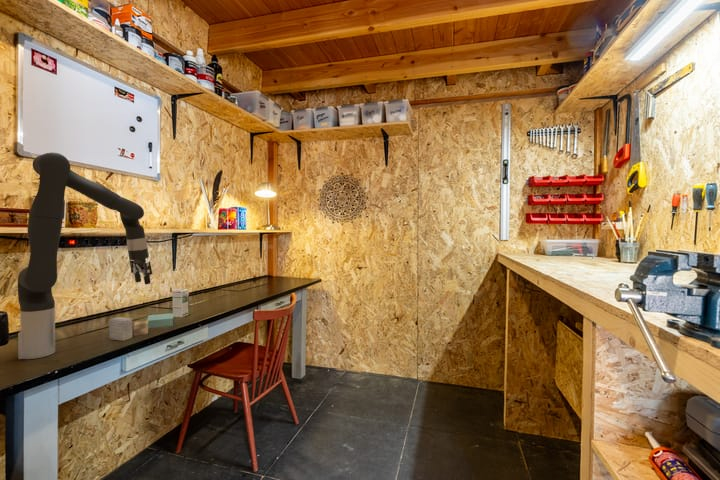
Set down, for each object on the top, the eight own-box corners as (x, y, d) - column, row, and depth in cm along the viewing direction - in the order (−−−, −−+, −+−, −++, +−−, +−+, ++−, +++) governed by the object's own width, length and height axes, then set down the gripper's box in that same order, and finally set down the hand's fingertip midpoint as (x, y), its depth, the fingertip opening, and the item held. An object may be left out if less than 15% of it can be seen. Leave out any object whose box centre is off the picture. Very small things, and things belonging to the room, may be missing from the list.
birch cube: (134, 335, 148) (134, 324, 148) (135, 332, 152) (135, 321, 152) (147, 334, 150) (147, 323, 150) (148, 331, 155) (148, 320, 155)
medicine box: (132, 338, 145) (132, 318, 144) (122, 341, 140) (122, 321, 140) (118, 336, 147) (118, 316, 147) (108, 339, 143) (108, 319, 142)
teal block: (146, 329, 159) (146, 320, 159) (148, 323, 168) (148, 315, 168) (173, 326, 164) (173, 318, 164) (173, 320, 174) (173, 313, 174)
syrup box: (182, 317, 179) (182, 290, 178) (172, 316, 180) (172, 290, 179) (189, 314, 184) (189, 288, 184) (179, 314, 185) (179, 288, 185)
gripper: (121, 249, 152) (126, 283, 154) (136, 250, 145) (142, 286, 147) (138, 246, 158) (144, 279, 161) (154, 247, 151) (159, 282, 153)
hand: (143, 283), depth 154 cm, fingers open, 8 cm apart
